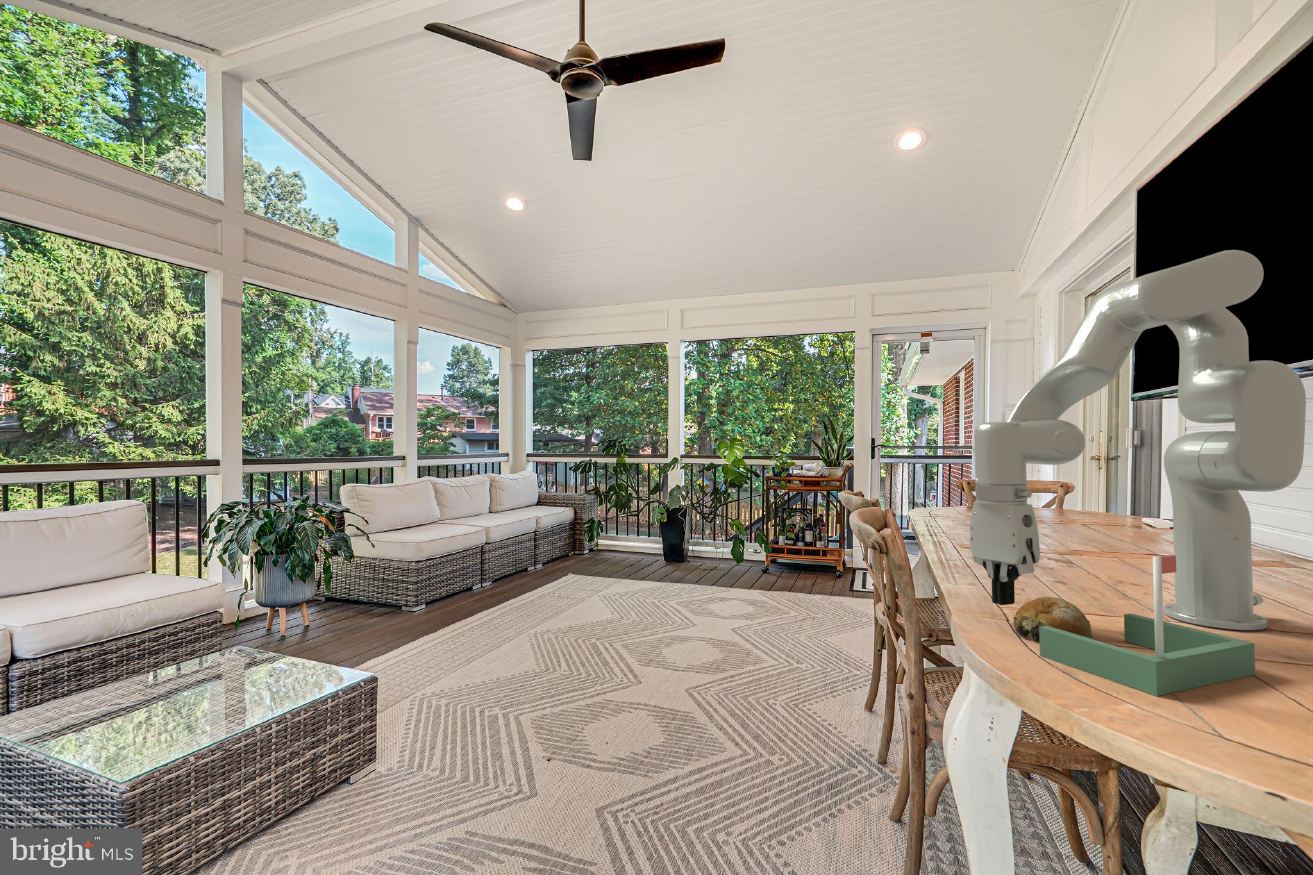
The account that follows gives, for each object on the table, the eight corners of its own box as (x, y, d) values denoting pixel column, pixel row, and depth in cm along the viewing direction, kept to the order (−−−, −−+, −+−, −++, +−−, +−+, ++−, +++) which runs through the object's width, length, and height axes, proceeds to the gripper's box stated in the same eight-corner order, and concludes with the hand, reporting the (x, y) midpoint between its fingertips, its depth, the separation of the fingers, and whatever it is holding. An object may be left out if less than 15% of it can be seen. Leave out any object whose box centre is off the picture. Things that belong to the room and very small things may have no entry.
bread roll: (1093, 675, 85) (1119, 626, 84) (1022, 640, 86) (1046, 592, 86) (1060, 651, 94) (1083, 607, 94) (997, 621, 96) (1019, 578, 96)
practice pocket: (1131, 639, 88) (1128, 534, 89) (1255, 674, 75) (1251, 549, 75) (1039, 655, 82) (1037, 541, 83) (1156, 696, 69) (1153, 559, 69)
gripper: (1059, 497, 93) (1062, 612, 93) (980, 491, 107) (983, 591, 107) (1024, 498, 91) (1027, 617, 90) (948, 492, 105) (950, 595, 104)
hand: (1003, 603), depth 98 cm, fingers closed
